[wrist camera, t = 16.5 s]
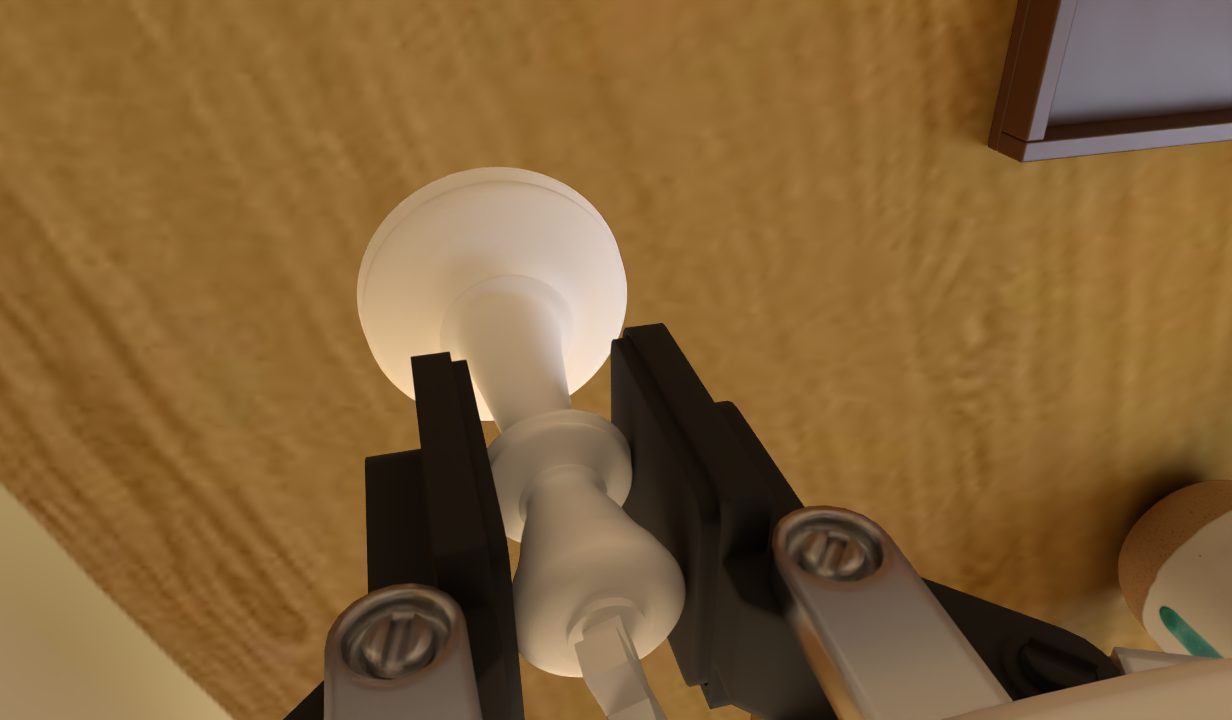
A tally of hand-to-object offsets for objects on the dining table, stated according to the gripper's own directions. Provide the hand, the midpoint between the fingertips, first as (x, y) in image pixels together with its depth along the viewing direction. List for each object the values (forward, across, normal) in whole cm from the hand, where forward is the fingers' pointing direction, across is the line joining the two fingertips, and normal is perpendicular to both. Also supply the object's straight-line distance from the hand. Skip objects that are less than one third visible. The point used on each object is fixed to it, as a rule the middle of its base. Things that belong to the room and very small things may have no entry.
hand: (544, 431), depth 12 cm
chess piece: (+5, 0, 0) cm, 5 cm away
